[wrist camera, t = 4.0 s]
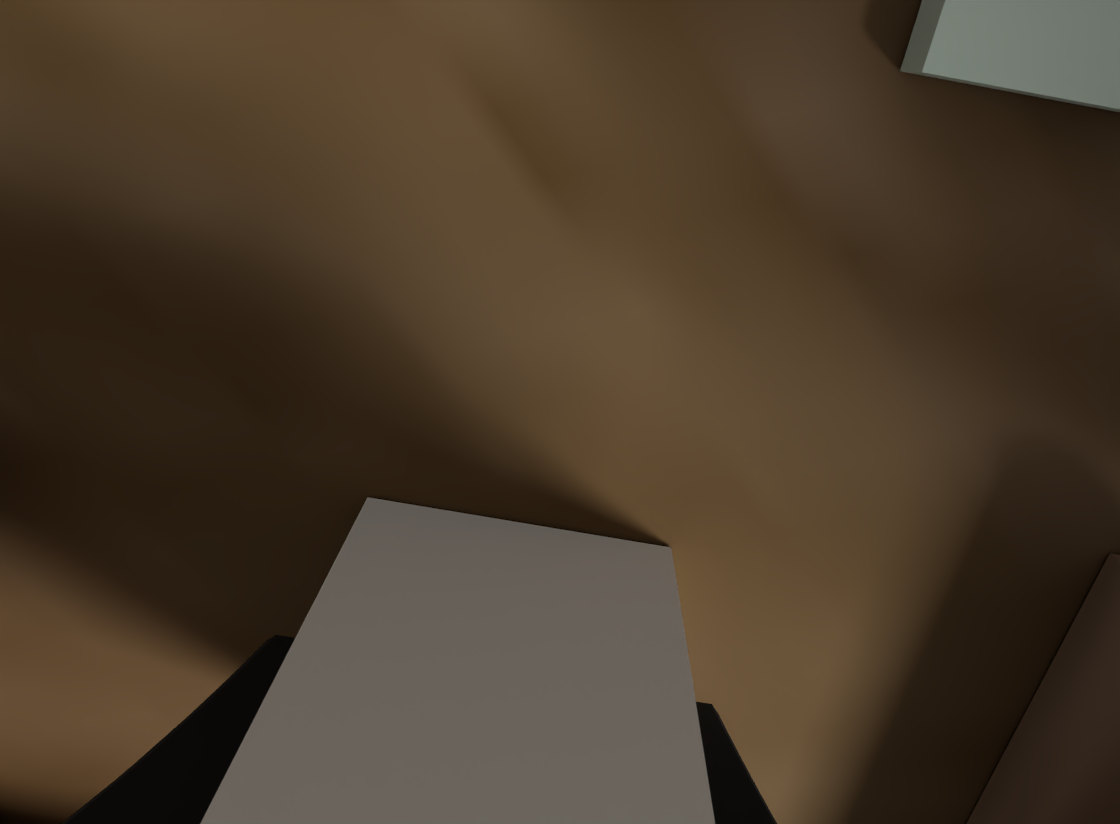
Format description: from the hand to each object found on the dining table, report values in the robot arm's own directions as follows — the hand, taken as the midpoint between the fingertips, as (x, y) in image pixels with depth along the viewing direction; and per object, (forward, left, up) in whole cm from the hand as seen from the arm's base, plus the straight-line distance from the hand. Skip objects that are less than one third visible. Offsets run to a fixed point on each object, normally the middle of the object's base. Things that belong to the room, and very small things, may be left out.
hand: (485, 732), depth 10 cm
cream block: (0, 0, -2) cm, 2 cm away
